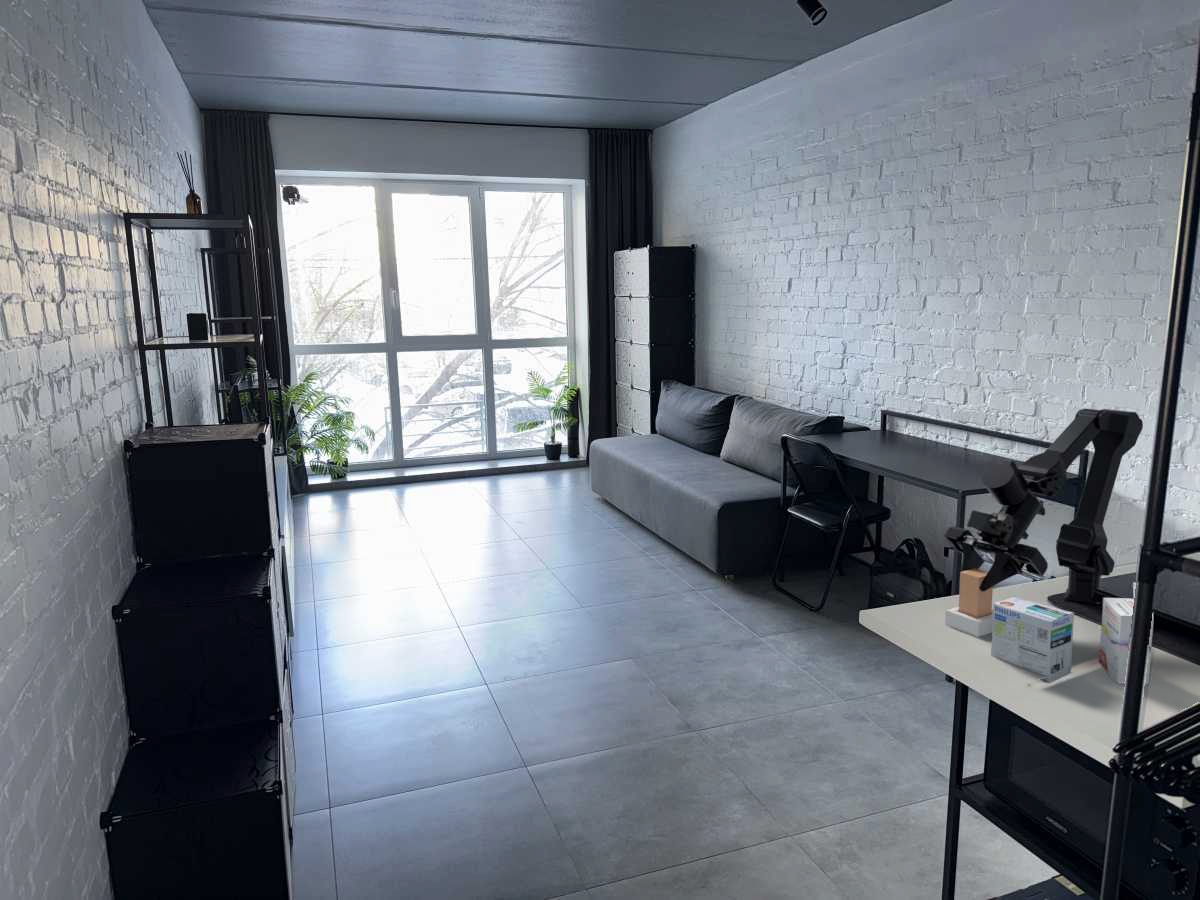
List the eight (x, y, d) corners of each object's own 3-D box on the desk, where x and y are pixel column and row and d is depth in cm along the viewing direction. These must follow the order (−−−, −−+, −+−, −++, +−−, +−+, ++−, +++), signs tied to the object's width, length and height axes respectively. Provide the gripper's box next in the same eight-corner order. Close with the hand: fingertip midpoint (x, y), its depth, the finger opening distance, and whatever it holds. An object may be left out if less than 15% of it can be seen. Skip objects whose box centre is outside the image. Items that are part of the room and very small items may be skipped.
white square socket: (970, 617, 165) (971, 602, 164) (1004, 629, 159) (1004, 614, 158) (944, 625, 162) (945, 610, 161) (977, 637, 155) (978, 622, 155)
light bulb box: (1072, 673, 142) (1076, 612, 140) (1048, 684, 139) (1052, 621, 137) (1012, 652, 151) (1015, 594, 149) (988, 662, 148) (991, 602, 146)
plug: (972, 617, 163) (974, 568, 161) (990, 624, 159) (993, 573, 157) (958, 622, 161) (960, 572, 159) (976, 628, 157) (978, 577, 156)
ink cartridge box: (1096, 661, 146) (1102, 579, 144) (1128, 663, 145) (1135, 580, 143) (1115, 684, 138) (1122, 597, 135) (1149, 686, 137) (1157, 598, 134)
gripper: (952, 485, 166) (910, 550, 162) (1041, 504, 149) (996, 576, 146) (978, 518, 171) (937, 582, 168) (1066, 540, 154) (1023, 611, 151)
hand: (971, 586), depth 158 cm, fingers closed on plug, 4 cm apart
